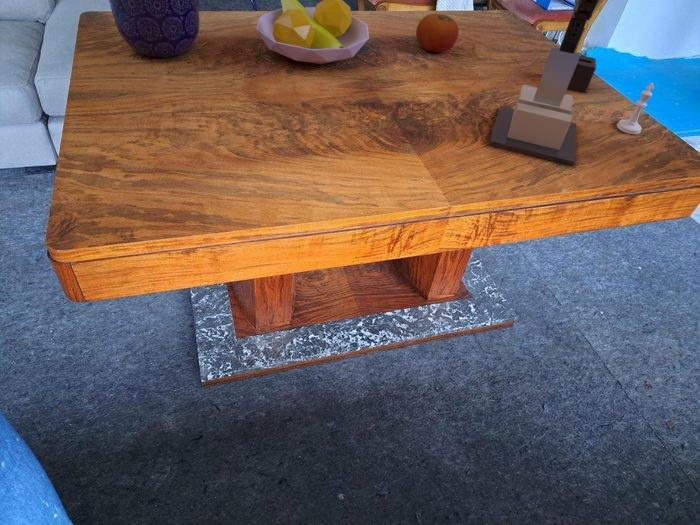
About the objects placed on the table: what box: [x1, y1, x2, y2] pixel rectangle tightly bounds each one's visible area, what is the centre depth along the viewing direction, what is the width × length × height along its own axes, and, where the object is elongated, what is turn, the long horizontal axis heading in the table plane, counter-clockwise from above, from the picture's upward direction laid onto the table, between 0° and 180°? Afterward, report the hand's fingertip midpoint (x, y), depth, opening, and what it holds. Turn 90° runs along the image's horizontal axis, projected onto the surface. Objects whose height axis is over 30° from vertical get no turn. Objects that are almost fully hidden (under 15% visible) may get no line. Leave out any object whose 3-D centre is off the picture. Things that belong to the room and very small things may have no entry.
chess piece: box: [616, 82, 655, 135], centre depth 105 cm, size 5×5×10 cm
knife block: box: [567, 54, 597, 94], centre depth 120 cm, size 8×6×6 cm
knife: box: [533, 4, 588, 107], centre depth 90 cm, size 5×2×17 cm, turn 71°
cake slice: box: [508, 103, 573, 150], centre depth 97 cm, size 10×3×6 cm, turn 71°
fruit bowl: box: [255, 0, 370, 65], centre depth 120 cm, size 28×27×11 cm
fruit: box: [415, 12, 459, 53], centre depth 128 cm, size 11×10×8 cm
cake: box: [510, 84, 574, 126], centre depth 102 cm, size 10×7×6 cm
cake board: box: [488, 105, 577, 167], centre depth 102 cm, size 16×16×1 cm
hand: (571, 38), depth 88 cm, fingers closed on knife, 2 cm apart
